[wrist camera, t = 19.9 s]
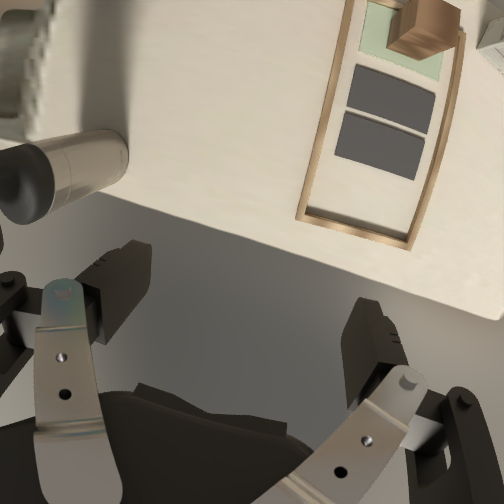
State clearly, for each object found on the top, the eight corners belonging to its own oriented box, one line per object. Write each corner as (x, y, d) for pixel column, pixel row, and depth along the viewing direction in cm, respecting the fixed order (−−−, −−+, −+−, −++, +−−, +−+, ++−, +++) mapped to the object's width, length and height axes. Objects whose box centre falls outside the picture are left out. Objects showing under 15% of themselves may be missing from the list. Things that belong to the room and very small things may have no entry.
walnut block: (385, 48, 32) (415, 25, 21) (391, 18, 30) (419, -11, 19) (418, 61, 32) (457, 45, 21) (423, 32, 30) (460, 9, 19)
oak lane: (295, 217, 44) (295, 219, 43) (348, -11, 30) (349, -14, 28) (408, 248, 44) (410, 251, 42) (462, 34, 29) (466, 33, 28)
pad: (358, 51, 34) (359, 51, 33) (368, 1, 30) (368, 1, 30) (437, 81, 33) (438, 81, 33) (445, 32, 29) (446, 32, 29)
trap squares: (334, 154, 40) (334, 155, 40) (355, 66, 35) (356, 65, 34) (413, 180, 39) (413, 180, 39) (434, 95, 34) (435, 95, 34)
